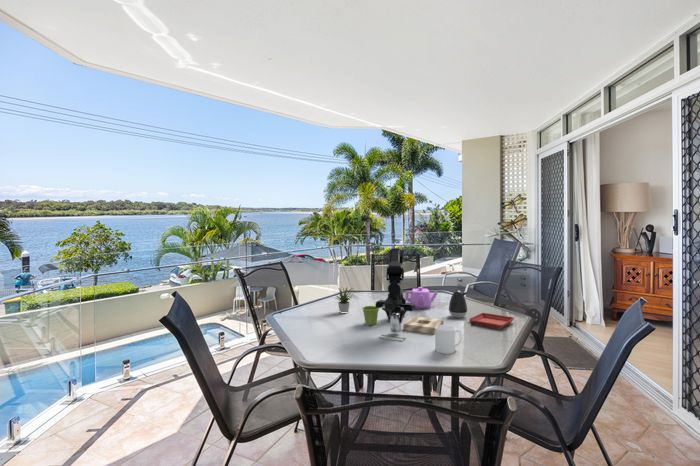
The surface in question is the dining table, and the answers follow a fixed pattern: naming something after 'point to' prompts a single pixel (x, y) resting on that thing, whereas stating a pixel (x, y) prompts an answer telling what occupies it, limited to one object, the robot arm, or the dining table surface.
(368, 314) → the plant pot
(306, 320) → the dining table surface
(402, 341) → the mat
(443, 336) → the cup
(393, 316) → the grey metallic cylinder
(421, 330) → the housing
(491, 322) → the plant saucer
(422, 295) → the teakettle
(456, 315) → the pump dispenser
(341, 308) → the house plant
